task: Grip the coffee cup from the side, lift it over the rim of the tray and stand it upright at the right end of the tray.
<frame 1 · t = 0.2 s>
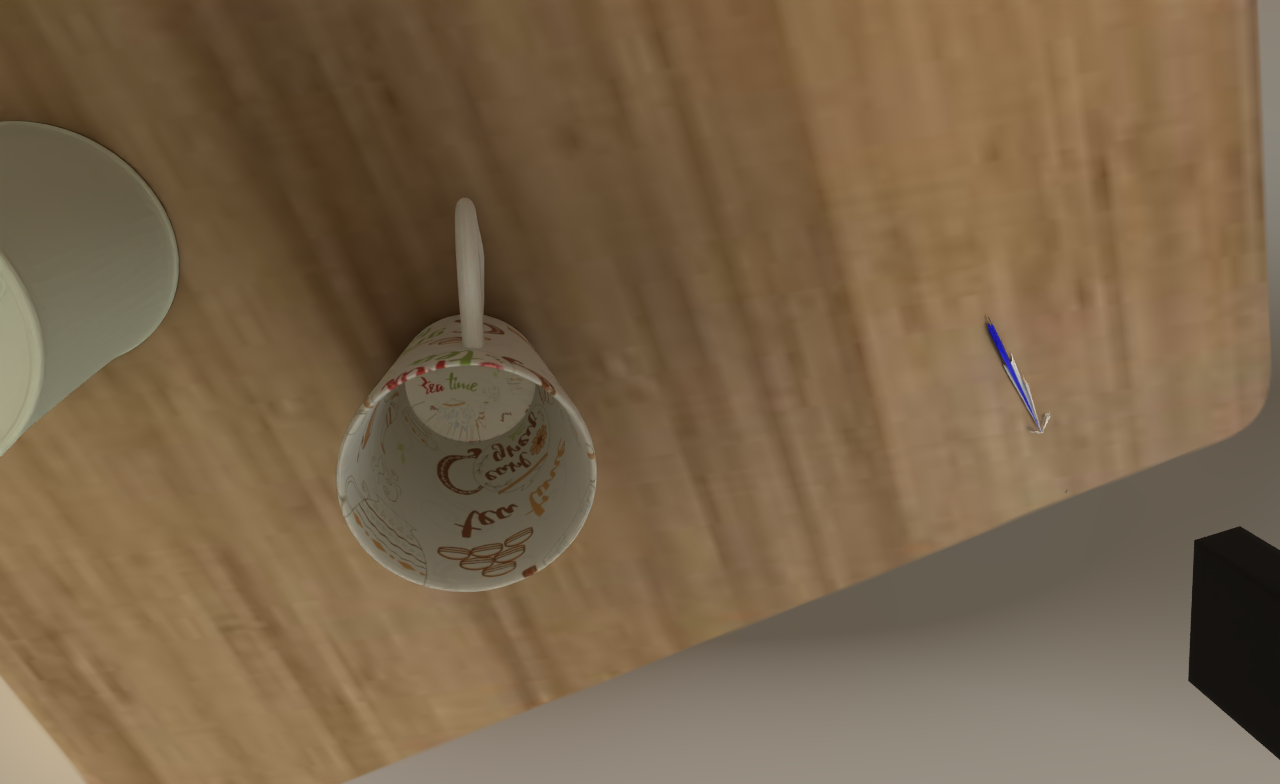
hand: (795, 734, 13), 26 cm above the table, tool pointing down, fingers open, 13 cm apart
mug: (467, 331, 37), on the table
can: (49, 248, 33), on the table
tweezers: (1042, 410, 42), point 1 cm above the table
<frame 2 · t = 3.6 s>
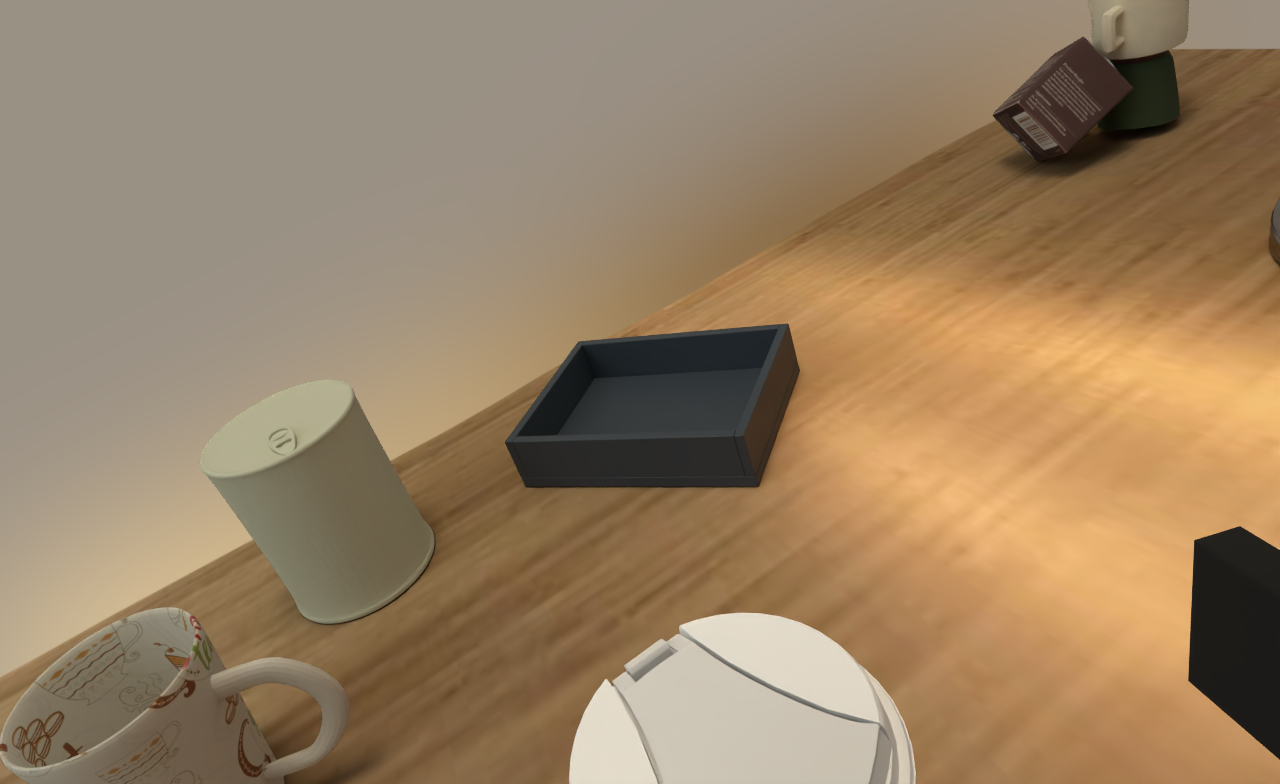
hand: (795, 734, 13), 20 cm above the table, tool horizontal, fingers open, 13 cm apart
character mug: (1137, 127, 76), on the table, touching box
tray: (664, 427, 58), on the table
can: (368, 570, 55), on the table
box: (1024, 136, 73), point 3 cm above the table, touching character mug
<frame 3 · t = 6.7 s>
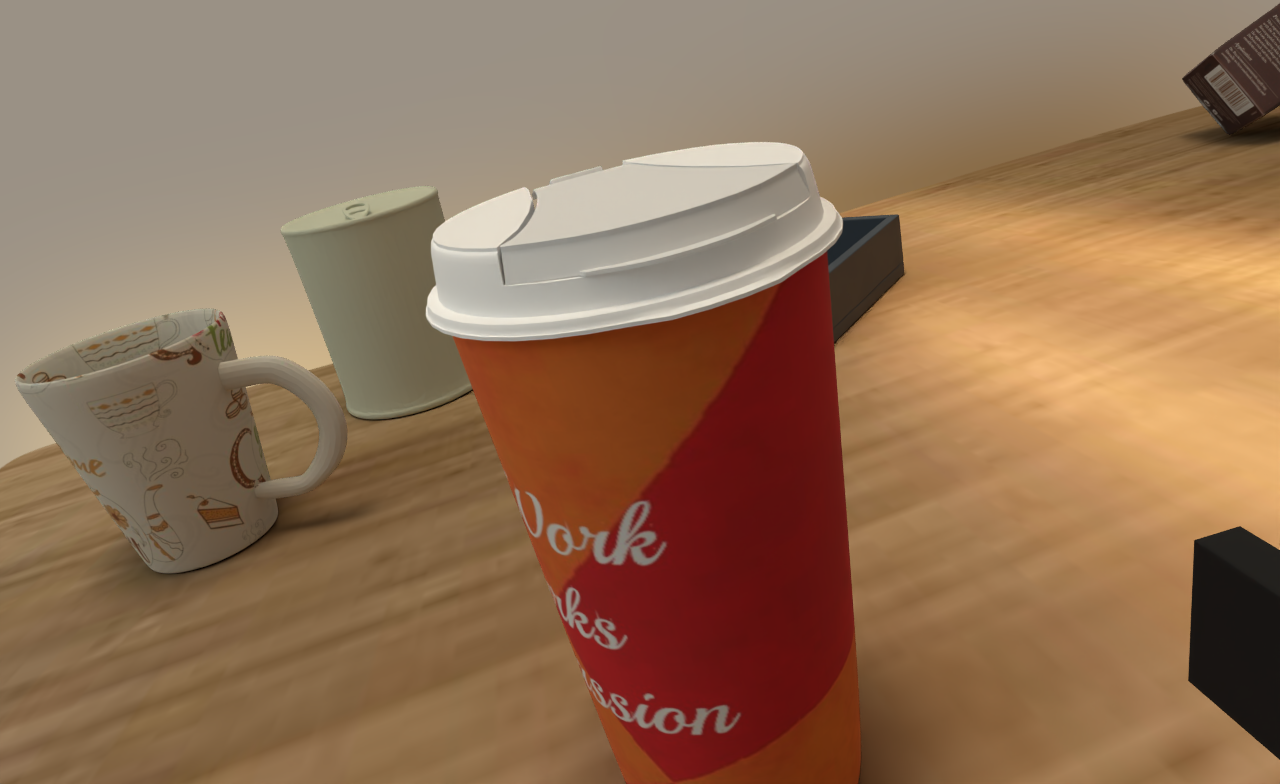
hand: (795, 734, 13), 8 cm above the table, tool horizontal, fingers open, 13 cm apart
coffee cup: (746, 769, 22), on the table
mug: (258, 532, 41), on the table
tray: (747, 307, 55), on the table
can: (421, 389, 55), on the table
box: (1216, 98, 66), point 3 cm above the table, touching character mug
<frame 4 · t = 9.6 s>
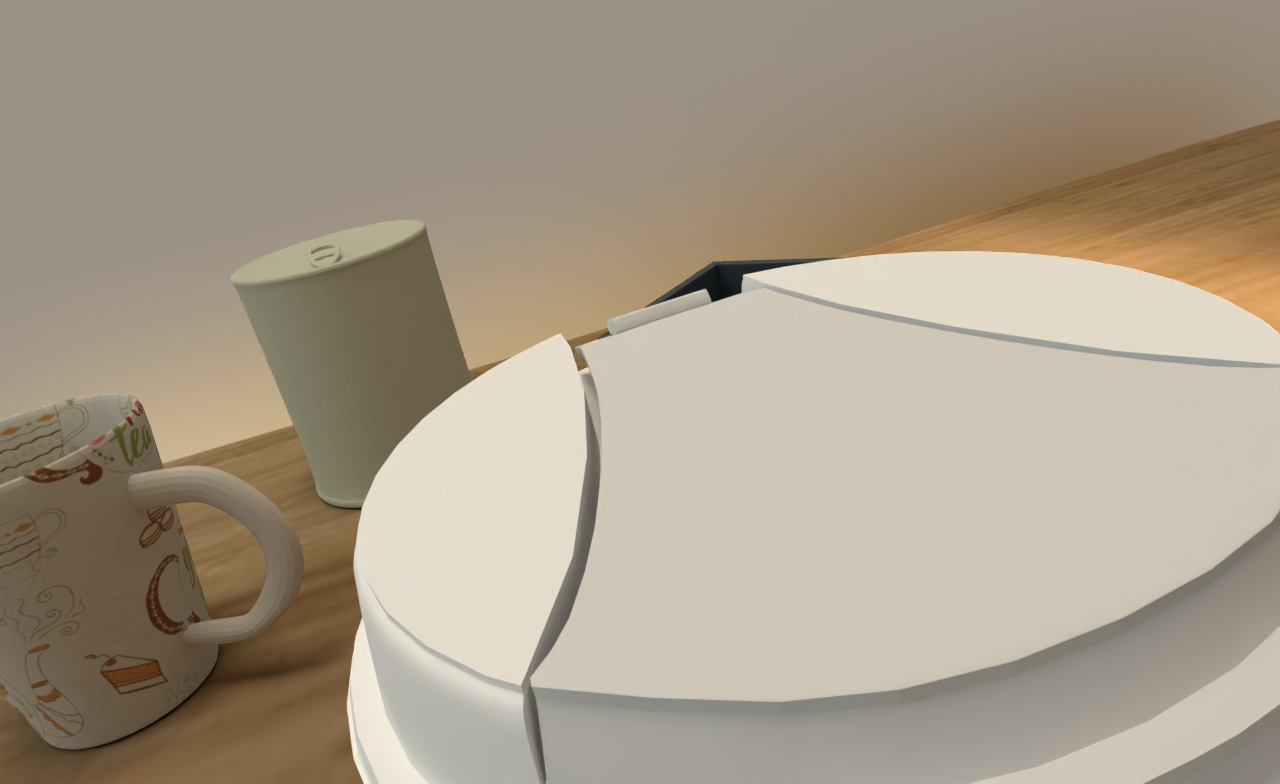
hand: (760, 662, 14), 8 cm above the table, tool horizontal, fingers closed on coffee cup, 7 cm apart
mug: (191, 682, 32), on the table
tray: (800, 363, 46), on the table
can: (407, 464, 45), on the table
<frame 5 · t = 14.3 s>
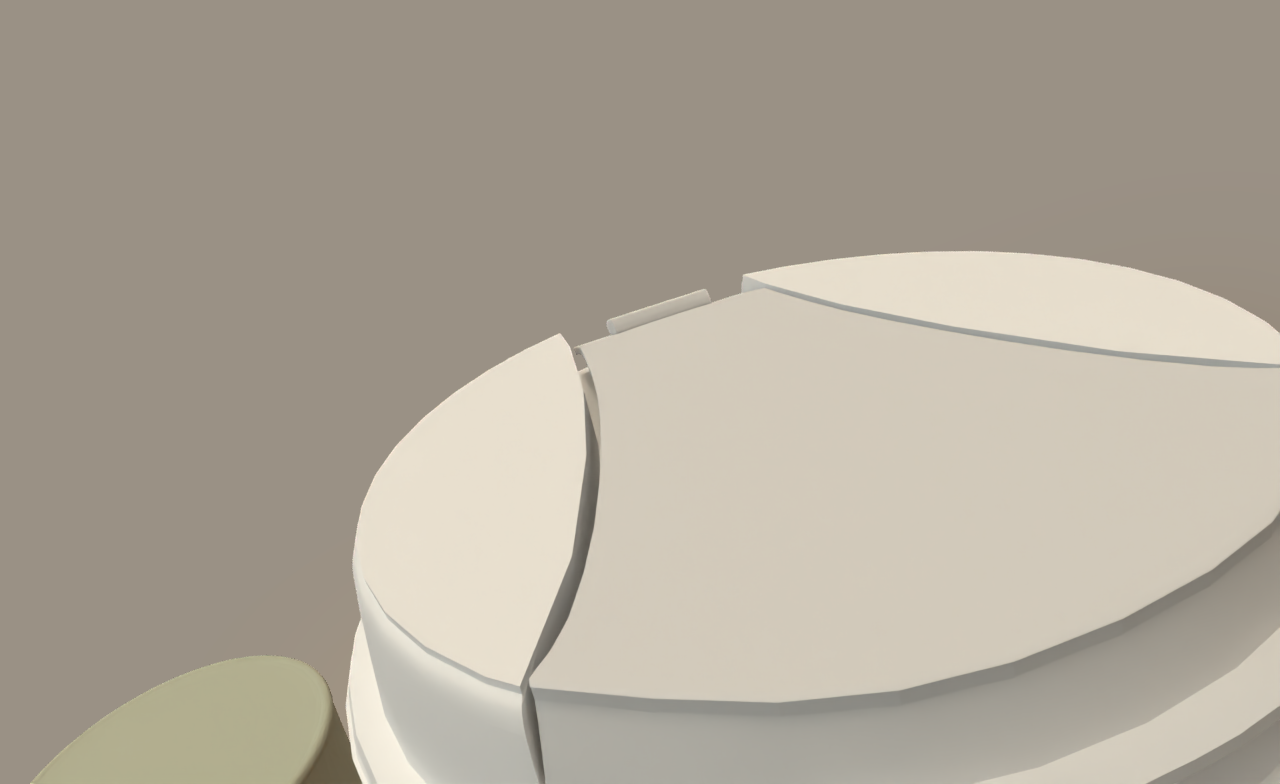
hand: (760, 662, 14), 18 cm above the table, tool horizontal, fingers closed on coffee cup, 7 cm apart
when the fingers open (9 cm above the table, at t = 19.2 s): coffee cup stays where it is, resting on tray.
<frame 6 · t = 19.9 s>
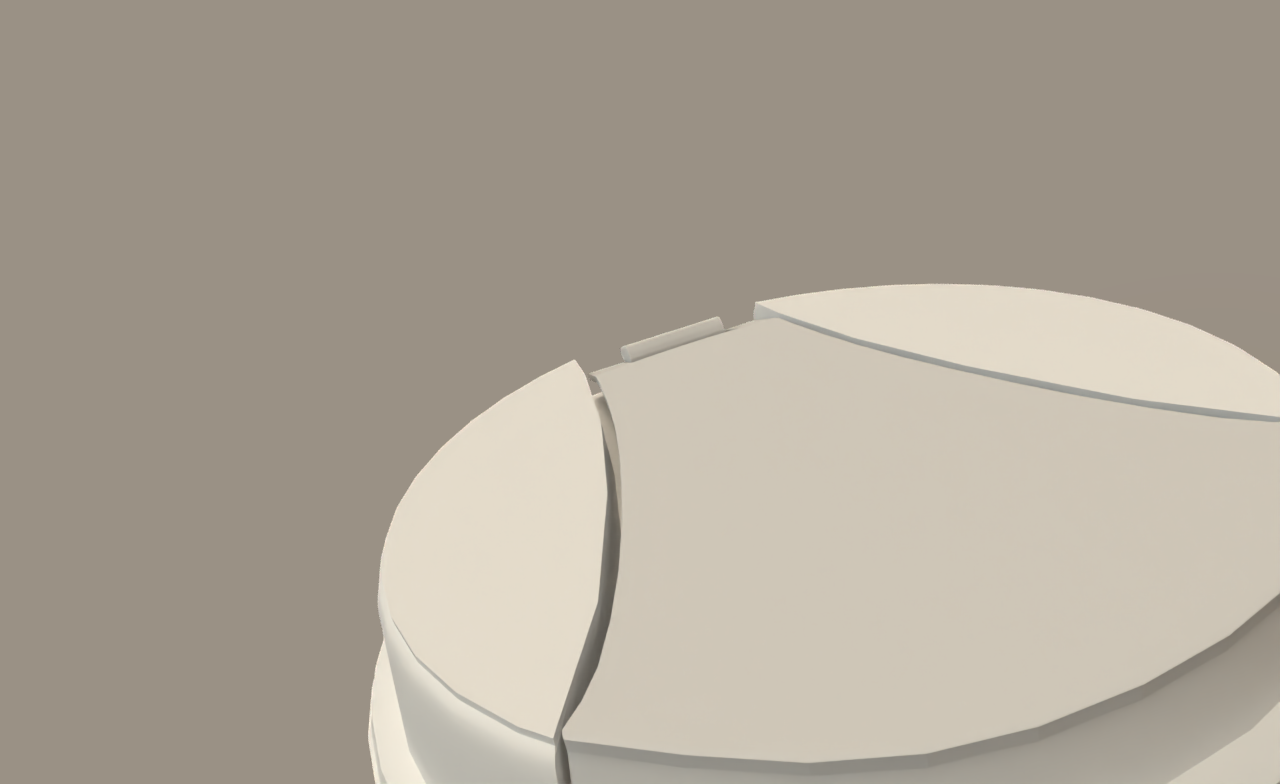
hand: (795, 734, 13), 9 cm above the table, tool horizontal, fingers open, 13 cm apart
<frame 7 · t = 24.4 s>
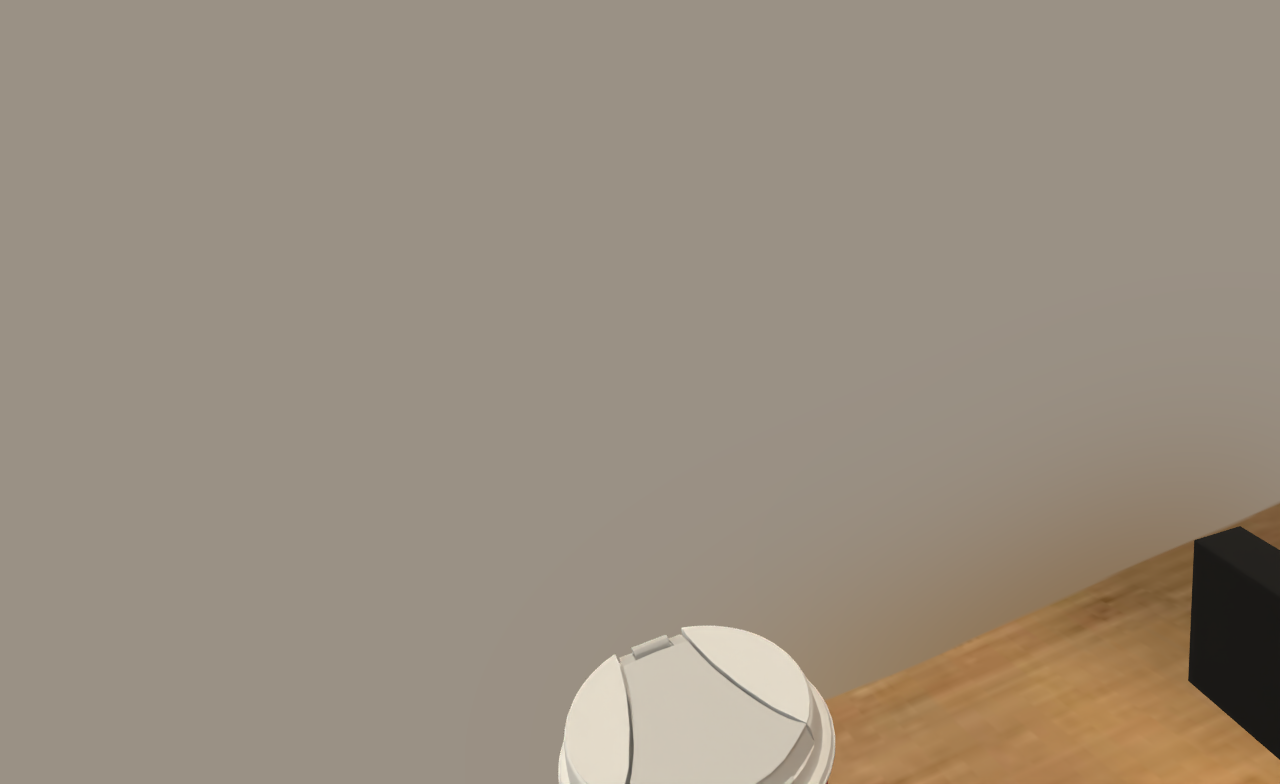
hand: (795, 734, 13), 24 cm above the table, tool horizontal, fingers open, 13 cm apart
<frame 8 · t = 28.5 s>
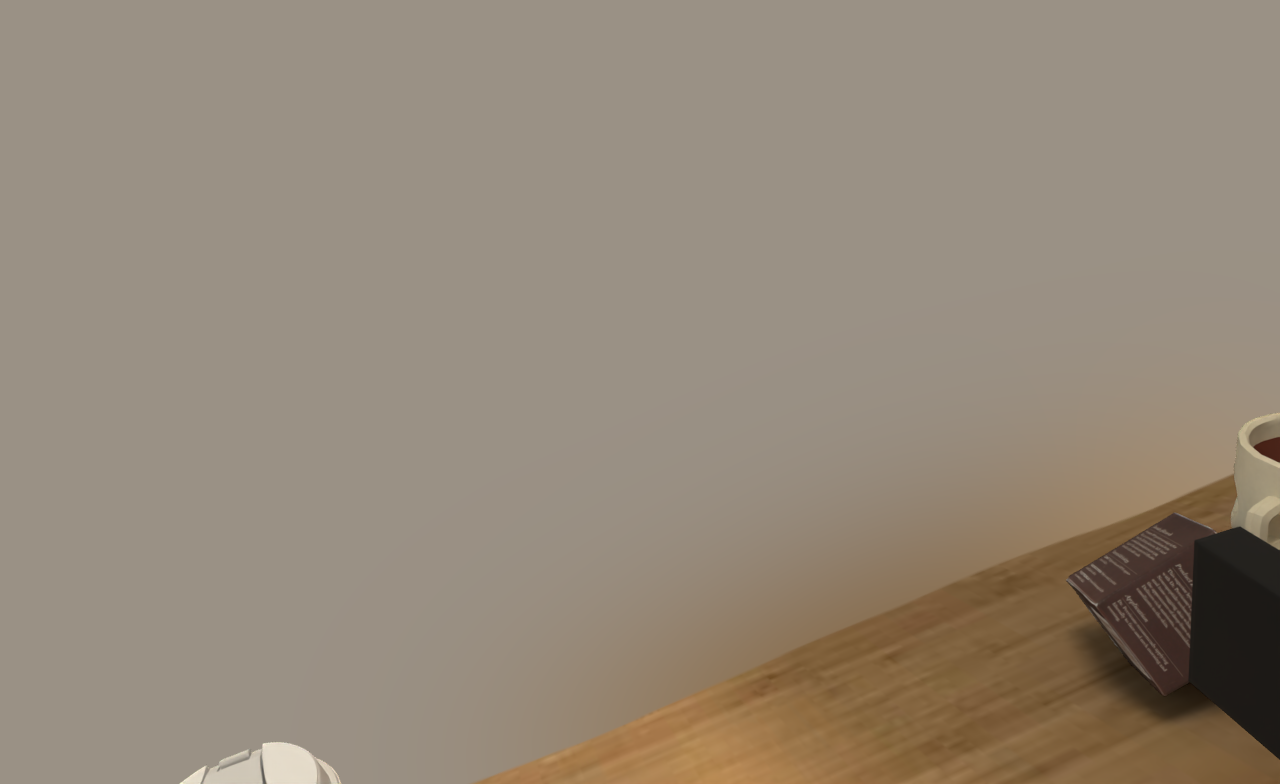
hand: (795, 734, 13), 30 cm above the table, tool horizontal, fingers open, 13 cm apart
box: (1106, 637, 49), point 3 cm above the table, touching character mug
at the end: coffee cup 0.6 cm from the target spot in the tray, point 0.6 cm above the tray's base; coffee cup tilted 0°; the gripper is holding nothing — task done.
